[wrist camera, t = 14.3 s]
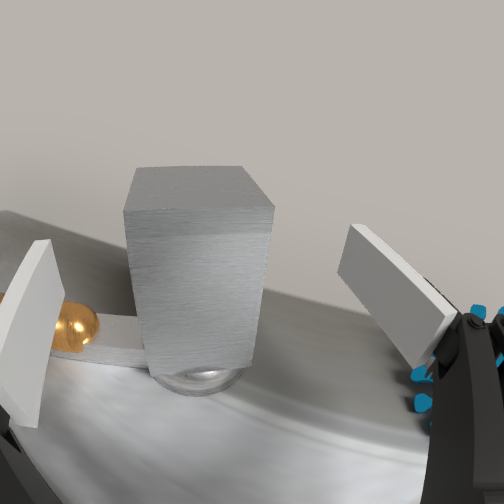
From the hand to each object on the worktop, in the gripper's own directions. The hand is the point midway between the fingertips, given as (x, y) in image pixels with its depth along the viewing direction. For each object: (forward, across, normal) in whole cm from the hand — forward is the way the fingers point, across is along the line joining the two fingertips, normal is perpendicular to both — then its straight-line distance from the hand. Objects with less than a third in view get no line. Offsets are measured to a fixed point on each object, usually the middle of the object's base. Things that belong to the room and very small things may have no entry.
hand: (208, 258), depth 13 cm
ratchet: (+5, -8, -10) cm, 13 cm away
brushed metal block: (+3, 0, -8) cm, 9 cm away
